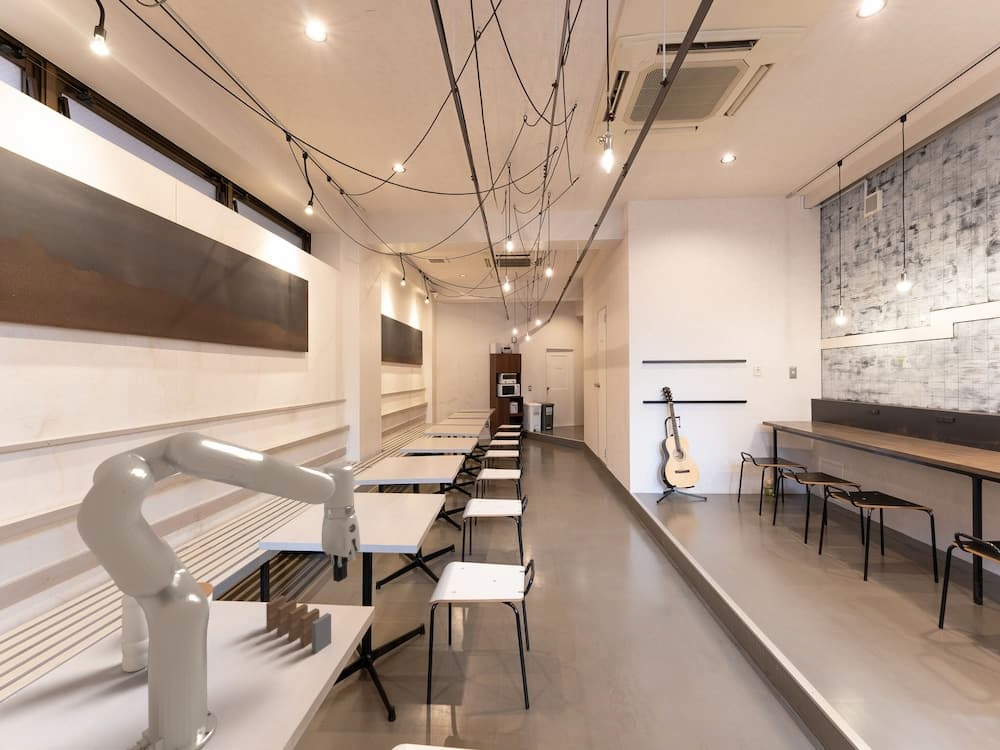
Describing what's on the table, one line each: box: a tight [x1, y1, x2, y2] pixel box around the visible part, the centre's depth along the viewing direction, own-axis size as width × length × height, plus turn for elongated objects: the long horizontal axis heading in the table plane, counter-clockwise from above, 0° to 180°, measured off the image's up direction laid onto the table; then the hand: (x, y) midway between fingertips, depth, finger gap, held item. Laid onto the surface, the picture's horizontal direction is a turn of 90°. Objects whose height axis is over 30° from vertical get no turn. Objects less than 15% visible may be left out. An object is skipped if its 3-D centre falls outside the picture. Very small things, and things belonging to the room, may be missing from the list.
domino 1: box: [265, 594, 287, 633], centre depth 121 cm, size 2×5×8 cm, turn 152°
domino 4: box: [299, 607, 320, 649], centre depth 114 cm, size 2×5×8 cm, turn 152°
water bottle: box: [121, 593, 149, 673], centre depth 106 cm, size 7×7×25 cm
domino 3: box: [287, 603, 309, 643], centre depth 116 cm, size 2×5×8 cm, turn 152°
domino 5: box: [311, 612, 332, 654], centre depth 112 cm, size 2×5×8 cm, turn 152°
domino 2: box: [276, 599, 298, 638], centre depth 119 cm, size 2×5×8 cm, turn 152°
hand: (340, 578), depth 109 cm, fingers closed
